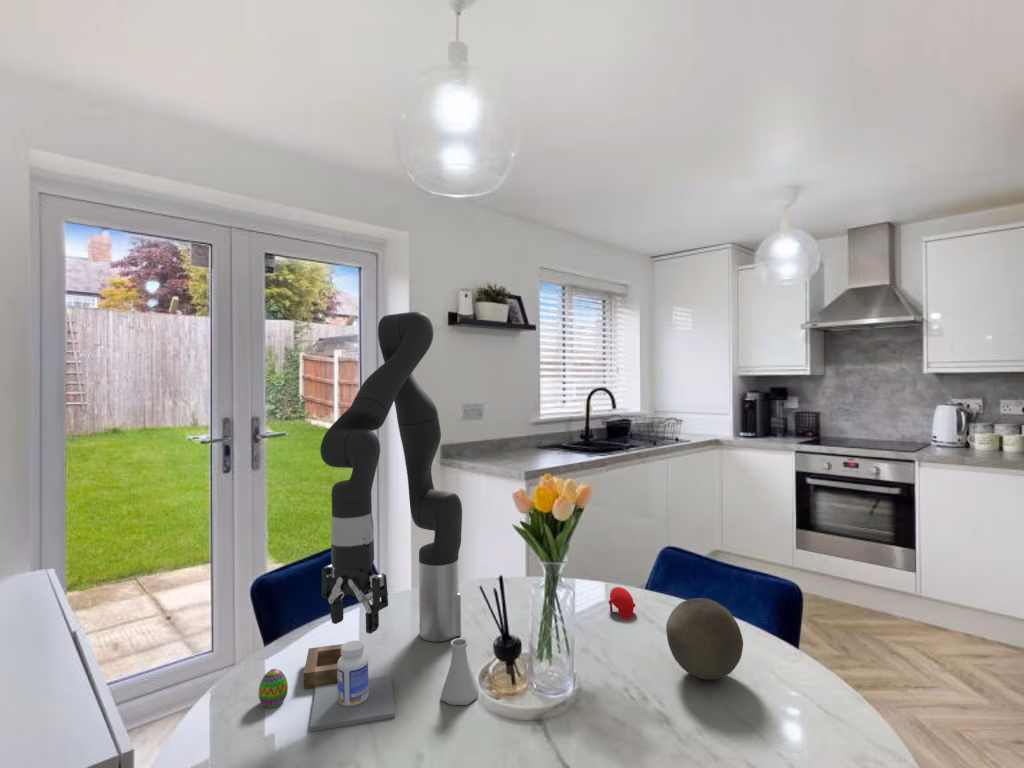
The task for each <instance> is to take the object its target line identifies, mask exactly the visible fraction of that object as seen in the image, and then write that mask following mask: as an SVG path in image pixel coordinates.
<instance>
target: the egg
mask: <svg viewBox="0 0 1024 768" xmlns="http://www.w3.org/2000/svg"><path fill="white" fill-rule="evenodd" d="M260 681H261V682H260V683H259V687H258V699H259V702H260V704H262V706H263V707H266V708H275V707H278V706H280V705H281V704H282V703H283V702H284V701H285V699H286V696H287V695H288V689H289V685H288V680H287V677H286V675H285V674H284V672H283V671H282V670H280V669H278V668H272V669H270V670H268V671H267V672H266V673H265V674H264V676H263V677H262V679H261V680H260Z"/></svg>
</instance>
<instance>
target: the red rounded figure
mask: <svg viewBox="0 0 1024 768" xmlns="http://www.w3.org/2000/svg"><path fill="white" fill-rule="evenodd" d="M608 605H609V610H610V612H613V606H614V607H615V608H616V609H618V613H619V616H620V617H621V618H622V619H624V620H628V619H630V618H631V617H632V615H634V614H633V613H634V608H635V607H636V603H634V599H633V597H632V594H630V592H629V591H628V590H627V589H626V588H624V587H621V586H615V587H613V588H612V589H611V590H610V593H609V600H608Z"/></svg>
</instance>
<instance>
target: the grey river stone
mask: <svg viewBox="0 0 1024 768" xmlns="http://www.w3.org/2000/svg"><path fill="white" fill-rule="evenodd" d="M665 629H666V630H665V631H666V637H667V638H666V639H667V643H668V647H669V650H670V652H671V654H672V656H673V658H674V660H675V661H676V662H677V663H678V665H679V666H680V667H681V669H683V670H684V671H685V672H687V674H689V675H692V676H694V677H696V678H698V679H700V680H708V681H709V680H717V679H718V680H719V679H722V678H724V677H726V676H728V675H729V674H731V673H732V672H733V671H734V670H735V669H736V667H737V666H738V664H739V663H740V661H741V658H742V656H743V655H742V654H743V648H744V639H743V635H742V631H741V629H740V627H739V624H738V622H737V621H736V619H735V618H734V616H733V614H732V613H731V611H730V610H729V609H727V608H726V607H725V606H723V605H721V604H720V603H719V602H717V601H715V600H712V599H709V598H704V597H699V598H698V597H697V598H696V597H695V598H689V599H686V600H684V601H682V602H680V603H679V604H677V606H676V607H674V609H673V610H672V611H671V612H670V614H669V616H668V618H667V621H666V627H665Z"/></svg>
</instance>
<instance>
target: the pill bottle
mask: <svg viewBox="0 0 1024 768" xmlns="http://www.w3.org/2000/svg"><path fill="white" fill-rule="evenodd" d="M342 644H343V645H342V646H341V657H340V658H339V660H338V662H337V663H336V664H337V682H338V701H339V703H340V704H341V705H344V706H355V705H358V704H360V703H362V702H364V701H365V700H366V699H367V698H368V695H369V687H368V679H369V659H368V655H367V654H366V653H364V652H365V651H364V648H365V647H364V645H365V644H364V643H363V641H360V640H350V641H347V642H345V643H342Z"/></svg>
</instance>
